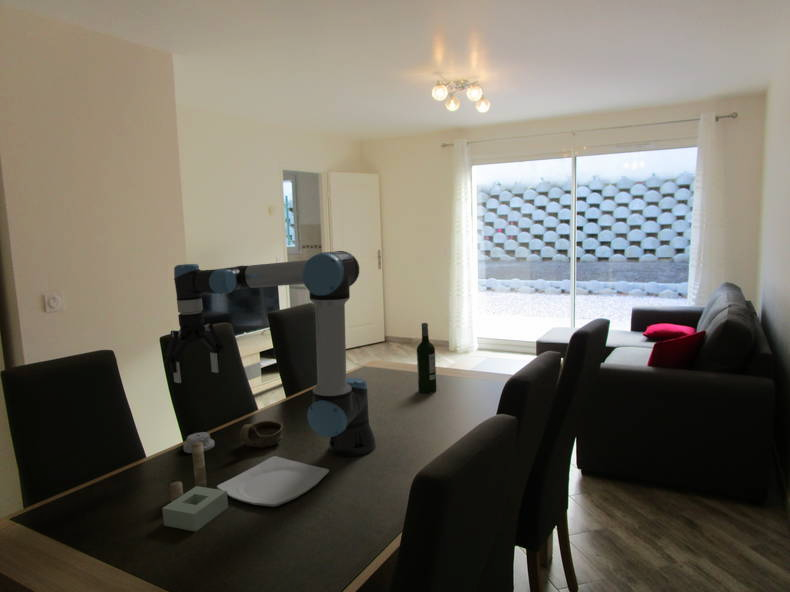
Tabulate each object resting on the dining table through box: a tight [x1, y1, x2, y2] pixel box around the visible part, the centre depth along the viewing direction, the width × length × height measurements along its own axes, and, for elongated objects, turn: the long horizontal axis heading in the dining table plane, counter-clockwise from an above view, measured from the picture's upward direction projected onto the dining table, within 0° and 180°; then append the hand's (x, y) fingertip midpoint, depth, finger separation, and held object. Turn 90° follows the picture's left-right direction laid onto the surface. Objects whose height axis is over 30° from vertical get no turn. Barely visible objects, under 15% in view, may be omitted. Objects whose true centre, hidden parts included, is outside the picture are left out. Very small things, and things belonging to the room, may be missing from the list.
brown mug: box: [239, 419, 284, 448], centre depth 179 cm, size 14×18×10 cm
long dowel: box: [191, 442, 208, 488], centre depth 151 cm, size 3×3×13 cm
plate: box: [216, 455, 330, 508], centre depth 151 cm, size 24×24×3 cm
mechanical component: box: [182, 431, 215, 454], centre depth 182 cm, size 10×4×10 cm
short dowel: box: [169, 481, 184, 502], centre depth 142 cm, size 3×3×6 cm
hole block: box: [161, 486, 229, 532], centre depth 136 cm, size 10×12×4 cm
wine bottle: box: [416, 322, 437, 394], centre depth 232 cm, size 8×8×30 cm
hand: (197, 377), depth 173 cm, fingers open, 13 cm apart
